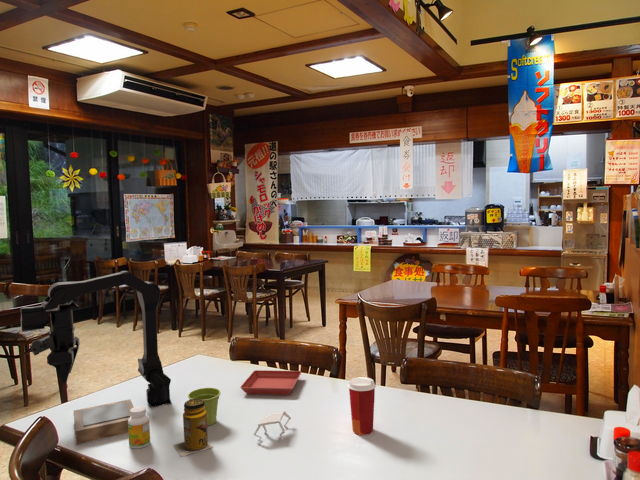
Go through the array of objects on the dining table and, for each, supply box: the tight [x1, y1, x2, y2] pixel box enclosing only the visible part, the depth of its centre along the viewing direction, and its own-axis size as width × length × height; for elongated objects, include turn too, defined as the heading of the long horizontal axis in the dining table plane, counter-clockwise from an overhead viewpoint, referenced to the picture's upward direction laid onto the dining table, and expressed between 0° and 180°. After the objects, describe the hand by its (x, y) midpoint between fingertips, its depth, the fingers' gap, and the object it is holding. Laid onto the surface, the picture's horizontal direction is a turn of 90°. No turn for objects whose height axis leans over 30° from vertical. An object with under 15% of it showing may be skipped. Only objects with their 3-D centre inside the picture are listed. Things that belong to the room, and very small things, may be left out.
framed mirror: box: [73, 399, 135, 446], centre depth 143 cm, size 16×16×4 cm
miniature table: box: [253, 410, 292, 442], centre depth 135 cm, size 12×8×5 cm
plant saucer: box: [240, 369, 302, 396], centre depth 172 cm, size 18×18×3 cm
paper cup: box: [346, 376, 377, 436], centre depth 135 cm, size 8×8×14 cm
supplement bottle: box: [127, 405, 151, 449], centre depth 132 cm, size 5×5×10 cm
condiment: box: [172, 399, 214, 457], centre depth 129 cm, size 7×8×12 cm
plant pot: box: [187, 387, 222, 426], centre depth 144 cm, size 9×9×9 cm
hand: (66, 377), depth 145 cm, fingers open, 9 cm apart
